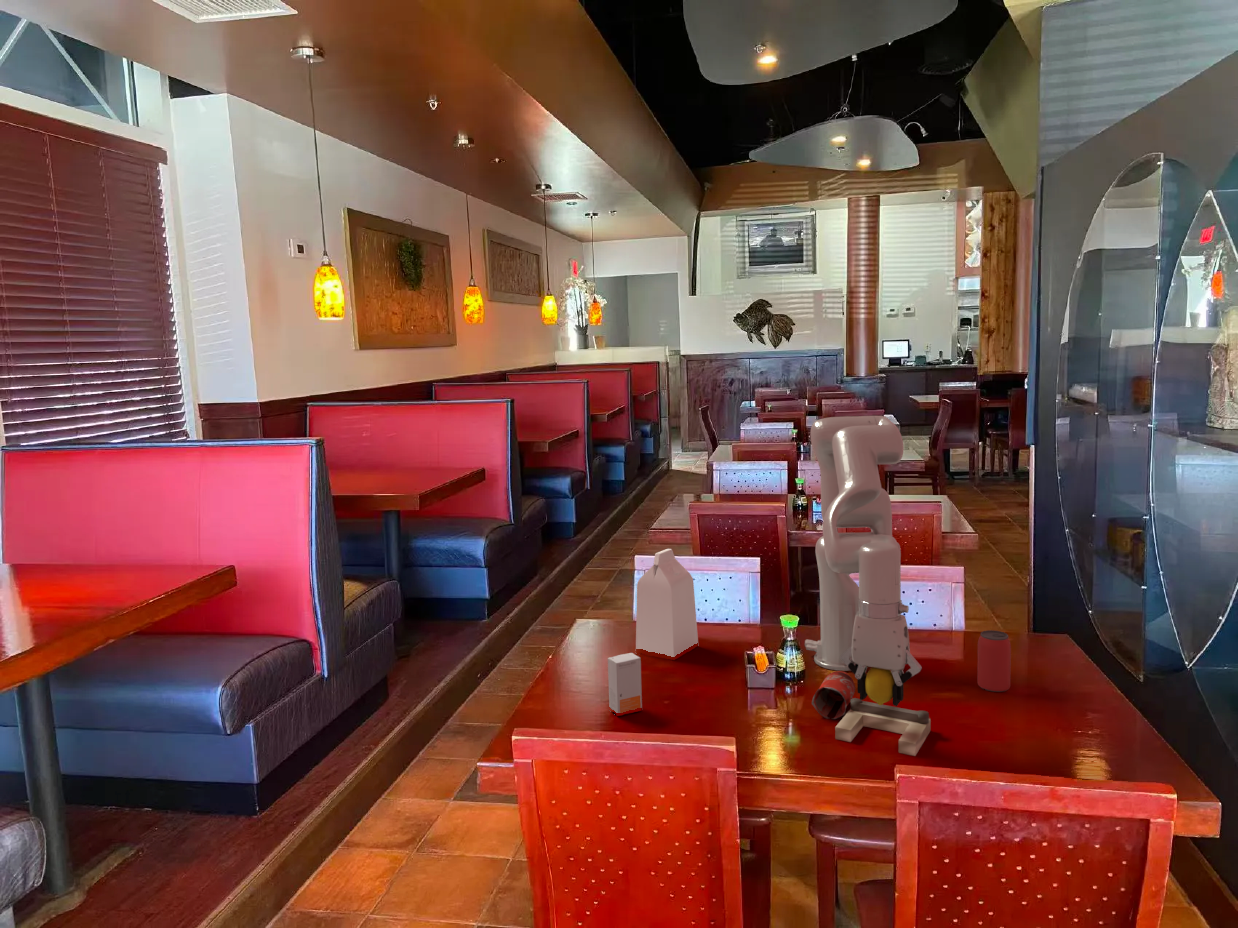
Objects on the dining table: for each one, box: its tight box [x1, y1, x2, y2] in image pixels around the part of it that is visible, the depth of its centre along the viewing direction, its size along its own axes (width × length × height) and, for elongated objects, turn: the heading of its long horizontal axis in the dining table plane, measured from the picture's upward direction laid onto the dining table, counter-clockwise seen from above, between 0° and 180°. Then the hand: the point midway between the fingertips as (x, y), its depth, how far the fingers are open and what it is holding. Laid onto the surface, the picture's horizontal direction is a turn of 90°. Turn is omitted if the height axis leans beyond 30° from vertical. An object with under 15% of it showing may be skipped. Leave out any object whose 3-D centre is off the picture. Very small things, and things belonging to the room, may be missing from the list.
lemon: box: [865, 667, 895, 705], centre depth 159 cm, size 6×6×8 cm
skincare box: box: [607, 652, 643, 713], centre depth 177 cm, size 6×4×12 cm
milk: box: [635, 548, 699, 657], centre depth 213 cm, size 12×12×26 cm
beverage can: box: [811, 670, 856, 720], centre depth 175 cm, size 7×12×7 cm, turn 153°
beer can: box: [976, 629, 1012, 693], centre depth 182 cm, size 7×7×12 cm
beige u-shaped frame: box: [834, 697, 932, 757], centre depth 162 cm, size 15×12×4 cm
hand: (880, 699), depth 159 cm, fingers closed on lemon, 5 cm apart
